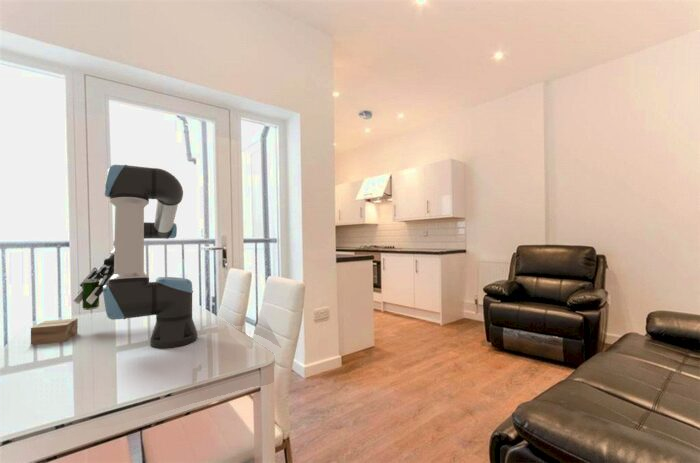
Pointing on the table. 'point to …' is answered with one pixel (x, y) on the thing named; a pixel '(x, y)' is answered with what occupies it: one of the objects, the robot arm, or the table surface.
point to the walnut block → (54, 331)
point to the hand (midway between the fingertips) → (82, 302)
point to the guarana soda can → (89, 293)
